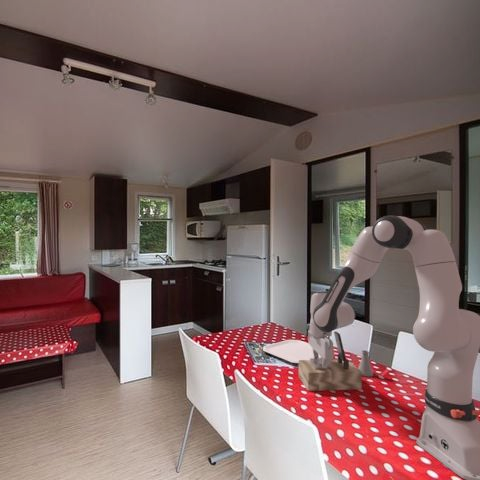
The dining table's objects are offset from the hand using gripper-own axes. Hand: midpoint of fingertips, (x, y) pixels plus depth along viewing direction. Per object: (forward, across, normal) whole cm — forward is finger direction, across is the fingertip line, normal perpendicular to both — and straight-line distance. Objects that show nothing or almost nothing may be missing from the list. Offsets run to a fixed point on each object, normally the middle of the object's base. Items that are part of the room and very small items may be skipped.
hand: (319, 363), depth 131 cm
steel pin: (+7, 0, 0) cm, 7 cm away
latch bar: (-7, 0, -8) cm, 11 cm away
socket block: (+8, 0, -4) cm, 9 cm away
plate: (+9, +34, 0) cm, 35 cm away
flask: (+8, +8, -24) cm, 27 cm away
